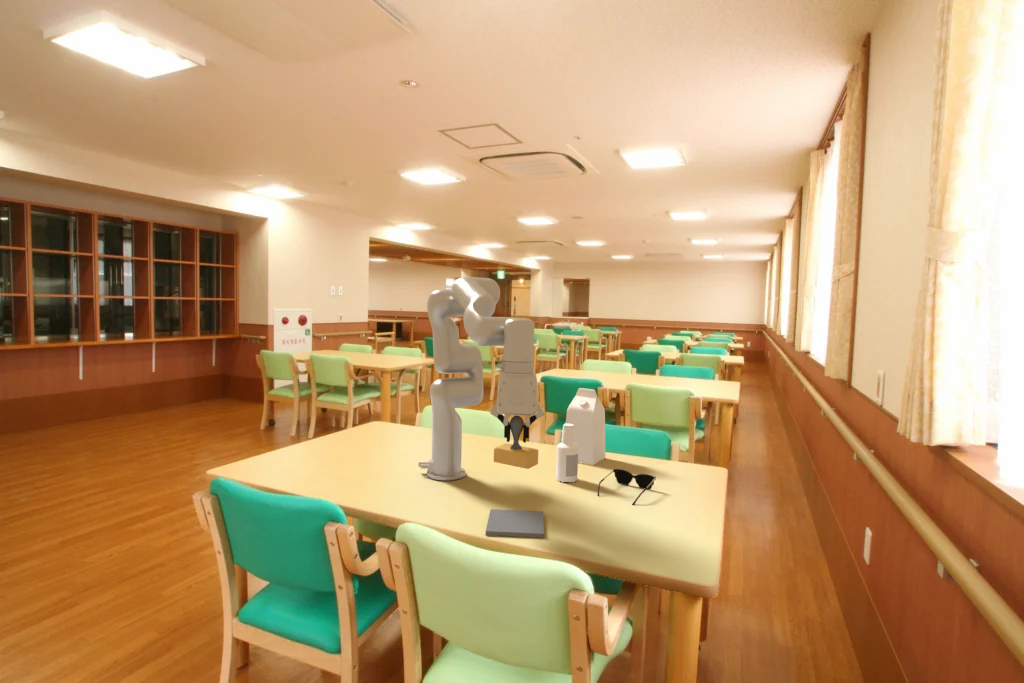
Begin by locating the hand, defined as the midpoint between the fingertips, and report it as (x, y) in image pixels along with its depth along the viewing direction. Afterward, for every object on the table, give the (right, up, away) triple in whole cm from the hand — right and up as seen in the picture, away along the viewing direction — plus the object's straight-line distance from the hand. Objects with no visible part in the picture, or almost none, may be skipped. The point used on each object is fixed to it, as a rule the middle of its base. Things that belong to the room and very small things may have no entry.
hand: (516, 440), depth 131 cm
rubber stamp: (0, -6, 0) cm, 6 cm away
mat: (0, -21, +1) cm, 22 cm away
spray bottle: (+16, -20, +37) cm, 45 cm away
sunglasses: (+33, -22, +26) cm, 47 cm away
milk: (+26, -19, +62) cm, 69 cm away
